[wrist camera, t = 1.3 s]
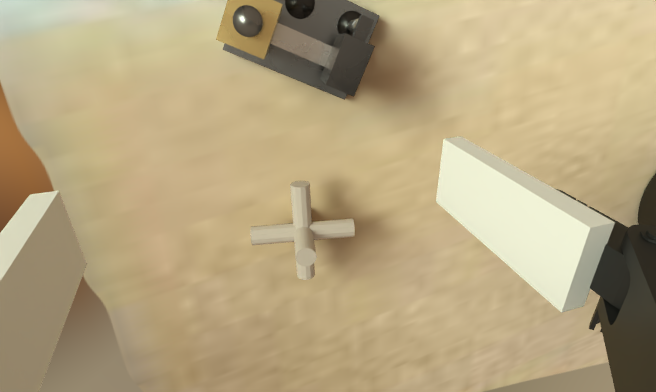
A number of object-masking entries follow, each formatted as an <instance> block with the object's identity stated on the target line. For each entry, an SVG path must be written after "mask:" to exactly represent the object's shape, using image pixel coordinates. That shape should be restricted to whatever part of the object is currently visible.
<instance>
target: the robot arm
mask: <svg viewBox="0 0 656 392" xmlns="http://www.w3.org/2000/svg"><path fill="white" fill-rule="evenodd" d="M436 202H437V203H438V204H439V205H440V206H441V207H443V208H444V209H445V210H446V211H447V212H448V213H449V214H450V215H452V216H453V217H454V218H455V219H456V220H457V221H458V222H460V223H461V224H462V225H463V226H464V227H465V228H466V229H467V230H469V231H470V232H471V233H472V234H473V235H474V236H475V237H476V238H478V239H479V240H480V241H481V242H482V243H483V244H484V245H486V246H487V247H488V248H489V249H490V250H491V251H492V252H493V253H495V254H496V255H497V256H498V257H499V258H500V259H501V260H503V261H504V262H505V263H506V264H507V265H508V266H509V267H510V268H512V269H513V270H514V271H515V272H516V273H517V274H518V275H519V276H521V277H522V278H523V279H524V280H525V281H526V282H527V283H529V284H530V285H531V286H532V287H533V288H534V289H535V290H536V291H538V292H539V293H540V294H541V295H542V296H543V297H544V298H546V299H547V300H548V301H549V302H550V303H551V304H552V305H553V306H555V307H556V308H557V309H558V310H559V311H560V312H565V311H569V310H572V309H576V308H579V307H583V306H584V304H585V301H586V299H587V296H588V293H589V291H590V288H591V289H592V290H593V291H594V292H596V293H597V294H598V295H600V296H601V297H600V299H599V302H598V304H597V307H596V309H595V312H594V314H593V317H592V320H591V322H590V326H589V329H592V330H594V328H595V326H596V324H597V323H599V322H600V323H601V331H600V332H602V333H603V337H604V342H605V346H606V351H607V355H608V360H609V365H610V369H611V374H612V378H613V383H614V387H615V392H656V174H655V175H654V176H653V178H652V179H651V181H650V182H649V184H648V186H647V188H646V189H645V192H644V194H643V196H642V199H641V202H640V206H639V212H638V223H639V225H632V226H631V227H629V228H628V227H626V226H624V225H622V224H621V223H619V222H617V221H615V220H613V219H612V218H610V217H608V216H606V215H604V214H603V213H601V212H599V211H597V210H595V209H594V208H592V207H587V205H586V204H585V203H583V202H581V201H579V200H577V201H576V198H574V197H572V196H570V195H568V194H566V193H565V192H563V191H561V190H558V189H555V188H553V187H551V186H549V185H547V184H545V183H544V182H542V181H540V180H538V179H536V178H535V177H533V176H531V175H529V174H528V173H526V172H524V171H522V170H520V169H519V168H517V167H515V166H513V165H511V164H510V163H508V162H506V161H504V160H502V159H501V158H499V157H497V156H495V155H494V154H492V153H490V152H488V151H486V150H485V149H483V148H481V147H479V146H477V145H476V144H474V143H472V142H470V141H468V140H467V139H465V138H463V137H453V138H446V139H444V140H443V148H442V156H441V165H440V173H439V181H438V189H437V198H436ZM86 265H87V263H86V260H85V257H84V255H83V252H82V250H81V247H80V244H79V242H78V239H77V237H76V234H75V231H74V229H73V226H72V224H71V221H70V218H69V216H68V213H67V210H66V208H65V205H64V203H63V200H62V197H61V195H60V192H59V191H53V192H46V193H39V194H31V195H30V196H29V197H28V198H27V199H26V201H25V202H24V203H23V205H22V206H21V207H20V208H19V210H18V211H17V212H16V213H15V215H14V216H13V217H12V219H11V220H10V221H9V222H8V224H7V225H6V227H5V228H4V229H3V230H2V232H1V233H0V392H39V390H40V387H41V384H42V382H43V379H44V377H45V374H46V371H47V368H48V366H49V363H50V360H51V358H52V355H53V353H54V350H55V347H56V345H57V342H58V339H59V337H60V334H61V331H62V329H63V326H64V323H65V321H66V318H67V315H68V313H69V310H70V307H71V305H72V302H73V300H74V297H75V294H76V292H77V289H78V286H79V283H80V281H81V278H82V276H83V273H84V270H85V268H86Z"/></svg>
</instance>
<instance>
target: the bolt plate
mask: <svg viewBox="0 0 656 392" xmlns="http://www.w3.org/2000/svg"><path fill="white" fill-rule="evenodd" d="M274 1H276V2H279V3H281V4H283V7H282V13H281V16H280V19H279V21H278V23H277V26H276V29H275V32H274V35H273V38H272V41H271V44H270V48H269V51H268V54H267V56H266V58H265V59H262V58H259V57H257V56H254V55H252V54H250V53H247V52H245V51H242V50H240V49H238V48H235V47H233V46H230V45H228V44H226V43H225V44H224V47H223V50H225V51H228V52H230V53H233V54H235V55H237V56H240V57H242V58H245V59H247V60H250V61H252V62H254V63H257V64H259V65H262V66H264V67H267V68H269V69H272V70H274V71H276V72H279V73H281V74H284V75H286V76H289V77H291V78H293V79H296V80H298V81H301V82H303V83H306V84H308V85H310V86H313V87H315V88H318V89H320V90H323V91H325V92H328V93H330V94H332V95H335V96H337V97H340V98H342V99H345V98H346V96H347V94H349V95H351V96H354V95H355V92H356V90H357V87H358V85H359V83H360V80H361V78H362V75H363V73H364V71H365V68H366V66H367V64H368V61H369V59H370V56H371V54H372V52H373V49H374V47H375V46H373V45H370V44H368V42H369V40H370V38H371V35H372V33H373V30H374V28H375V25H376V23H377V21H378V18H379V15H377V14H375V13H373V12H370V11H368V10H366V9H364V8H362V7H360V6H358V5H356V4H354V3H352V2H349V1H347V0H274Z"/></svg>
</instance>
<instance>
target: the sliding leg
mask: <svg viewBox="0 0 656 392" xmlns="http://www.w3.org/2000/svg"><path fill="white" fill-rule="evenodd" d="M282 7H283V4H281V3H279V2H276V1H274V0H228V1H227V4H226V8H225V11H224V15H223V18H222V21H221V25H220V28H219V31H218V35H217V38H216V40H218V41H221V42H223V43H226V44H228V45H230V46H233V47H235V48H238V49H240V50H242V51H245V52H247V53H250V54H252V55H254V56H257V57H259V58H262V59H265V58H266V56H267V54H268V51H269V48H270V44H271V41H272V38H273V35H274V32H275V29H276V26H277V23H278V21H279V19H280V16H281V13H282Z"/></svg>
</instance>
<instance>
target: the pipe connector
mask: <svg viewBox="0 0 656 392" xmlns="http://www.w3.org/2000/svg"><path fill="white" fill-rule="evenodd" d="M290 188H291V201H292V214H293V223H288V224H276V225H263V226H251V242H252V245H260V244H272V243H284V242H295V257H296V267H297V276H298V278H299V279H302V280H308V279H311V278H313V277H314V275H315V270H314V262H315V261H316V250H315V244H314V240H320V239H332V238H344V237H354V236H355V226H354V221H353V219H352V218H351V219H339V220H326V221H314V222H312V216H311V199H310V183H309V182H307V181H295V182H292V183H291V184H290Z"/></svg>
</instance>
